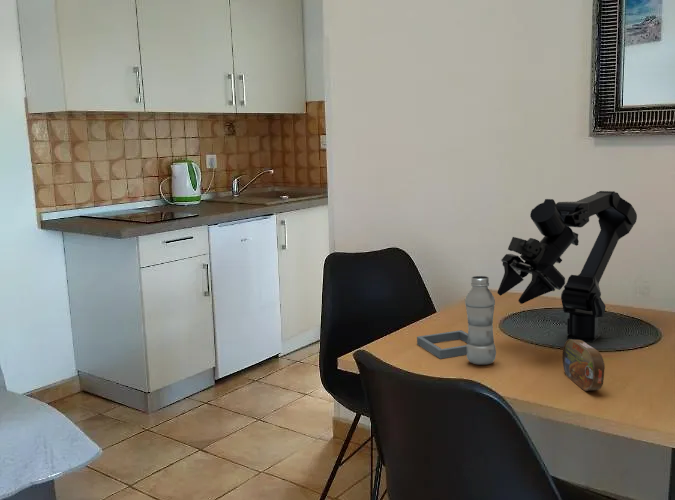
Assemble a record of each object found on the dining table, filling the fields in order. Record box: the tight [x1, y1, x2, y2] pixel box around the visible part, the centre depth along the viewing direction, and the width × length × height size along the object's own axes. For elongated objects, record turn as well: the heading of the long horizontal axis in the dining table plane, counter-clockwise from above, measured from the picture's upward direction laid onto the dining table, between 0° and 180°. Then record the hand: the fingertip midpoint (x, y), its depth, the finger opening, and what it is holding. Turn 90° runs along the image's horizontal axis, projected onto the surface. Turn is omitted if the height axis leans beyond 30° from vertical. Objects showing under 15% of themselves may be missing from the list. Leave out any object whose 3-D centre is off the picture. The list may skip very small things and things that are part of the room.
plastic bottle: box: [464, 275, 497, 366], centre depth 151 cm, size 6×7×20 cm
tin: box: [561, 338, 606, 392], centre depth 138 cm, size 15×3×8 cm, turn 4°
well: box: [416, 329, 468, 360], centre depth 165 cm, size 12×12×2 cm
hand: (508, 298), depth 154 cm, fingers open, 9 cm apart
